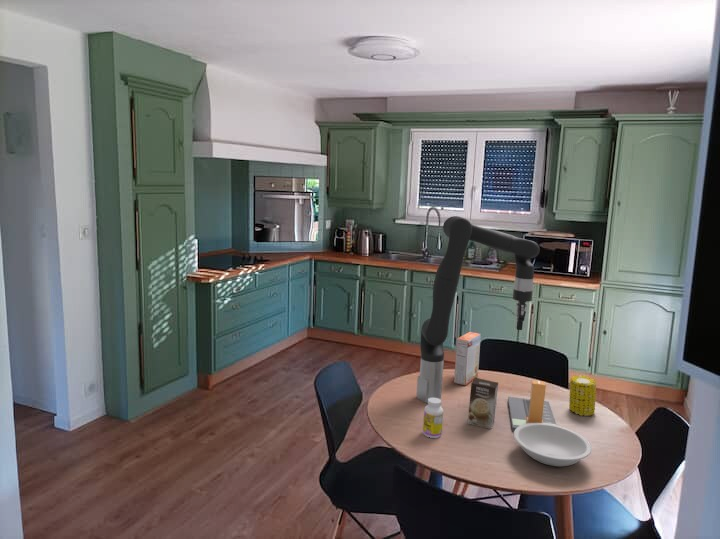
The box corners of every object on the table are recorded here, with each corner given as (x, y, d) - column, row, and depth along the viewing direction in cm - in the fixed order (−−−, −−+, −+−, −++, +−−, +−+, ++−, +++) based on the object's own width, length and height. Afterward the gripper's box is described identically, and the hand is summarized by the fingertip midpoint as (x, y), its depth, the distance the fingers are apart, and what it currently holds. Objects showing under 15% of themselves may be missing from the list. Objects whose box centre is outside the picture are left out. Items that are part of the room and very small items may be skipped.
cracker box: (466, 374, 243) (469, 330, 239) (478, 377, 239) (481, 333, 235) (452, 382, 231) (456, 337, 228) (465, 386, 228) (469, 340, 224)
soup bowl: (512, 470, 162) (514, 451, 161) (511, 435, 185) (512, 418, 184) (595, 485, 156) (597, 465, 155) (583, 446, 179) (585, 429, 178)
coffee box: (466, 423, 193) (470, 382, 190) (470, 416, 198) (474, 377, 196) (491, 429, 189) (495, 387, 186) (495, 422, 195) (498, 381, 192)
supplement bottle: (419, 431, 185) (421, 397, 183) (435, 428, 188) (438, 395, 186) (428, 440, 179) (430, 405, 177) (445, 437, 182) (447, 402, 179)
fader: (543, 427, 188) (547, 385, 185) (527, 425, 189) (531, 383, 186) (541, 421, 192) (546, 380, 190) (526, 419, 193) (530, 379, 191)
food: (598, 418, 205) (577, 422, 202) (578, 400, 215) (558, 403, 212) (608, 386, 199) (586, 390, 196) (587, 369, 209) (566, 372, 206)
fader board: (558, 437, 185) (560, 428, 184) (512, 431, 188) (513, 422, 188) (548, 405, 212) (549, 396, 211) (507, 400, 215) (508, 392, 215)
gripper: (512, 284, 219) (508, 324, 222) (514, 291, 207) (510, 333, 210) (531, 286, 218) (527, 326, 221) (534, 292, 205) (530, 334, 208)
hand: (519, 329), depth 215 cm, fingers closed
